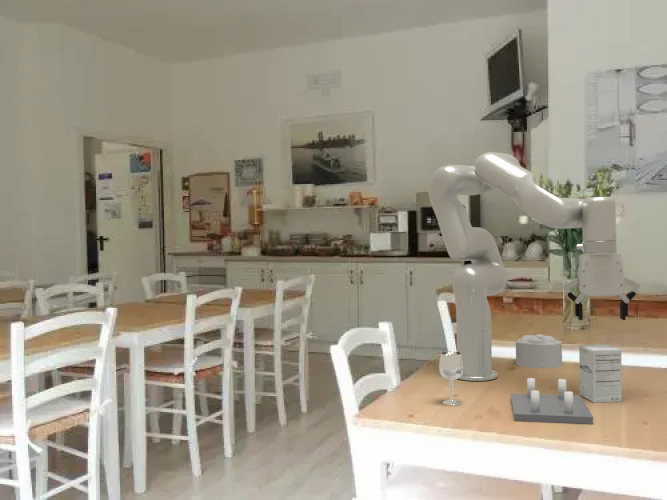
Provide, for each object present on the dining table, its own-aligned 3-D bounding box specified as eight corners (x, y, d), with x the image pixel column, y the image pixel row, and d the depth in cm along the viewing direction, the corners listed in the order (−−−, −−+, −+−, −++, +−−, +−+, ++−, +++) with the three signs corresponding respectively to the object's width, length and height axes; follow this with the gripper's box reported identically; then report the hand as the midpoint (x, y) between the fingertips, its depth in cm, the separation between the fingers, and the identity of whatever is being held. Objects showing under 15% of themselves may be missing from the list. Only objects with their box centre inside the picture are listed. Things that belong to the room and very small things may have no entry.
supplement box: (578, 395, 165) (578, 344, 165) (607, 394, 166) (607, 343, 165) (592, 403, 158) (592, 350, 157) (622, 401, 158) (622, 348, 158)
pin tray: (514, 420, 145) (514, 393, 145) (511, 399, 162) (510, 375, 162) (593, 424, 141) (592, 396, 141) (580, 401, 159) (580, 377, 159)
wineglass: (465, 400, 162) (464, 351, 162) (462, 406, 157) (461, 356, 157) (441, 399, 164) (441, 350, 164) (437, 405, 159) (436, 355, 158)
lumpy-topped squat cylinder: (520, 359, 210) (520, 332, 209) (563, 362, 204) (563, 334, 204) (514, 366, 200) (514, 337, 200) (559, 369, 195) (559, 340, 194)
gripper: (563, 249, 159) (565, 321, 159) (642, 247, 155) (643, 321, 155) (560, 249, 166) (561, 317, 166) (634, 247, 162) (636, 317, 163)
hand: (601, 319), depth 161 cm, fingers open, 9 cm apart
